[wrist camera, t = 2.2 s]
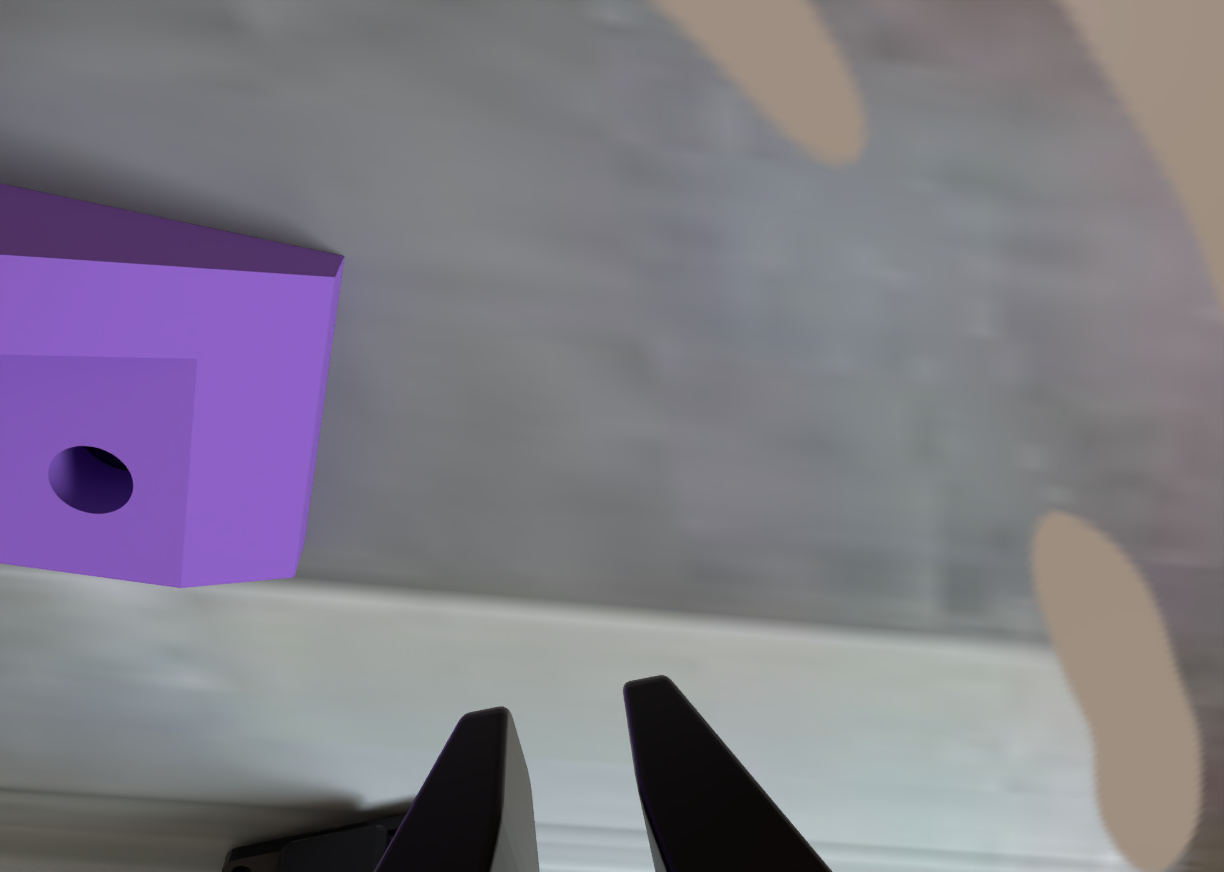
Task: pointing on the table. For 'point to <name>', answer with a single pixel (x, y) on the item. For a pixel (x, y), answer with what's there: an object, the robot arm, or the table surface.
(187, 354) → the bracket
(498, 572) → the table surface
